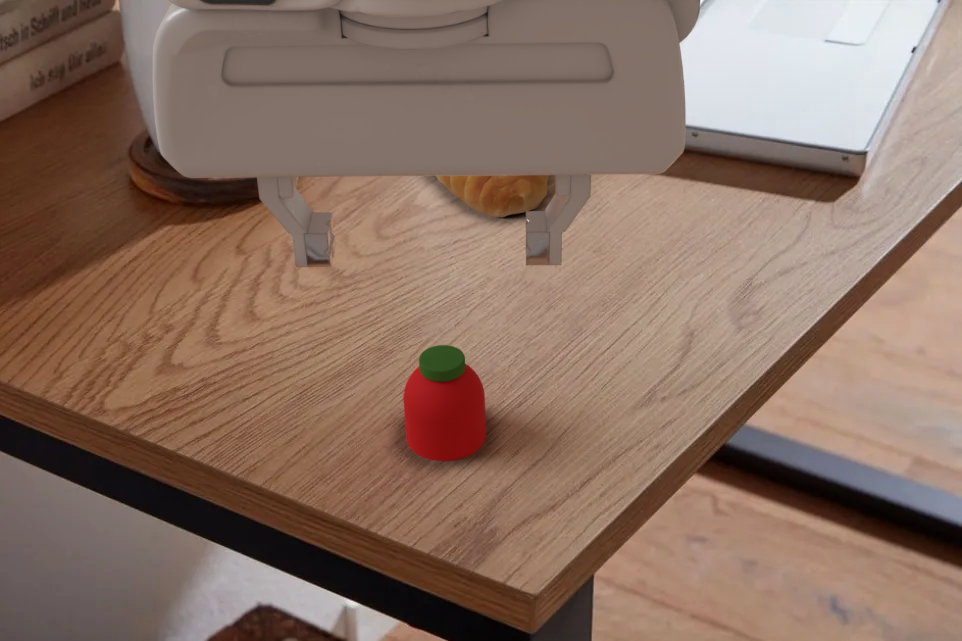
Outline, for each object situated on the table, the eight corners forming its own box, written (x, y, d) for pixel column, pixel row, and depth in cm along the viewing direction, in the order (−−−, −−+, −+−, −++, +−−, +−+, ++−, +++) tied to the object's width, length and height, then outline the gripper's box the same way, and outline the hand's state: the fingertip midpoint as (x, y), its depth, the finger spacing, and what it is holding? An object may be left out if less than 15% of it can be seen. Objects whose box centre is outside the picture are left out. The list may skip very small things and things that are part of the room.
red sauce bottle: (486, 418, 62) (483, 333, 59) (485, 468, 59) (482, 381, 56) (409, 419, 62) (403, 334, 60) (404, 470, 59) (397, 382, 57)
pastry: (575, 214, 78) (575, 155, 76) (465, 235, 76) (462, 176, 74) (522, 146, 85) (520, 90, 83) (420, 164, 84) (416, 108, 82)
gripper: (696, -102, 50) (673, 220, 58) (153, -95, 51) (203, 223, 58) (717, -47, 45) (689, 299, 53) (111, -39, 45) (172, 302, 53)
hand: (429, 259), depth 55 cm, fingers open, 8 cm apart
